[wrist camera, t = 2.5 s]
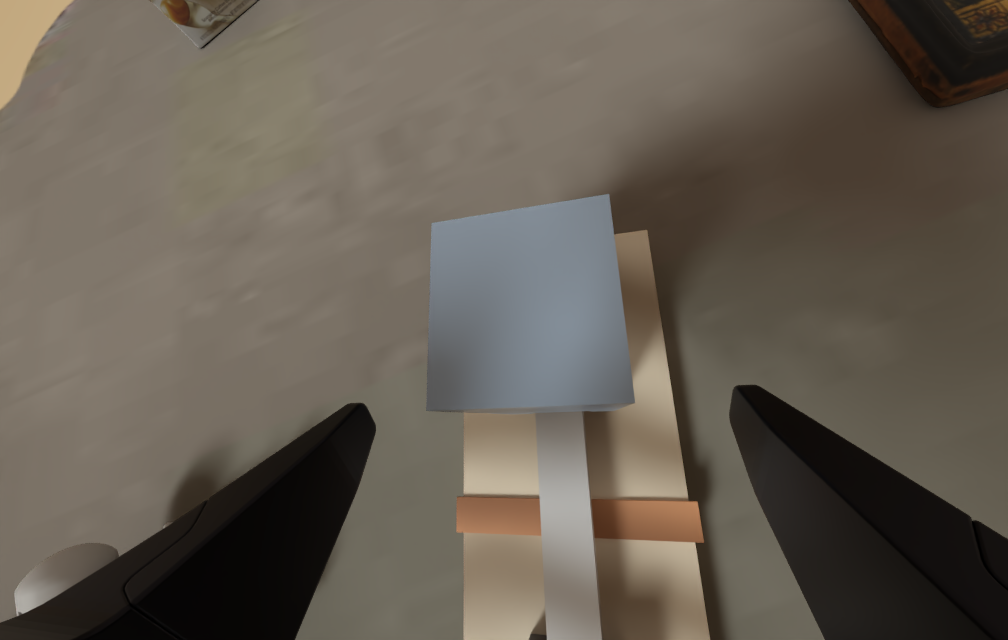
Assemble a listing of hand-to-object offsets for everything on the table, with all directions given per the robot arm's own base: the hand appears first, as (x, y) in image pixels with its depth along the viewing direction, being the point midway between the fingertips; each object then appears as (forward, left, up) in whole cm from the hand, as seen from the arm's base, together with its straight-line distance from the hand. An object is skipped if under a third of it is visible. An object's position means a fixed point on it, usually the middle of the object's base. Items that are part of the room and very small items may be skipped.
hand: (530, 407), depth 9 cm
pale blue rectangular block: (+2, -1, -8) cm, 9 cm away
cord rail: (-1, +1, -10) cm, 11 cm away
